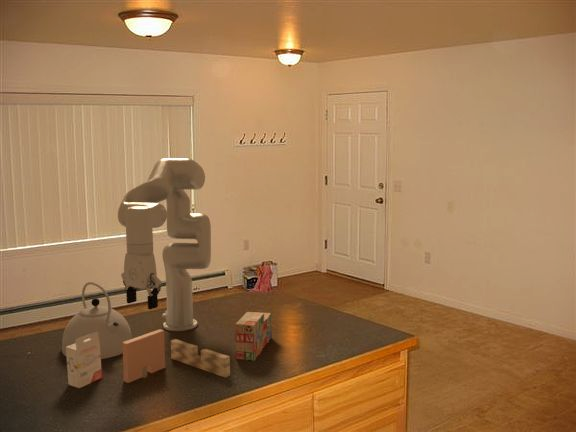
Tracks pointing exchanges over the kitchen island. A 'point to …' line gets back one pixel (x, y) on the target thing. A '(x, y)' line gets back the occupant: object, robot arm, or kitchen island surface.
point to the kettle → (98, 326)
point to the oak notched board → (200, 358)
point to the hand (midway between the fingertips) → (142, 305)
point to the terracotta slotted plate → (143, 355)
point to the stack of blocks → (252, 334)
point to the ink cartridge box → (84, 360)
